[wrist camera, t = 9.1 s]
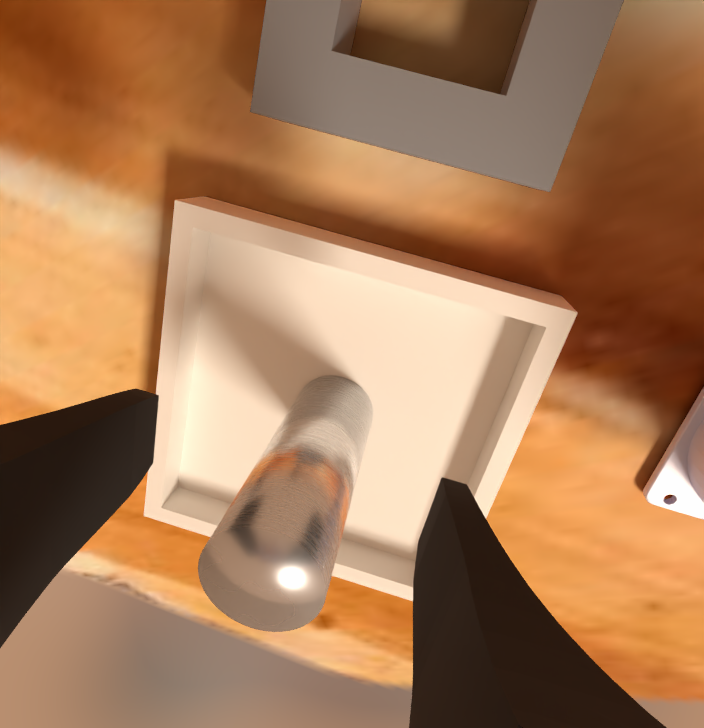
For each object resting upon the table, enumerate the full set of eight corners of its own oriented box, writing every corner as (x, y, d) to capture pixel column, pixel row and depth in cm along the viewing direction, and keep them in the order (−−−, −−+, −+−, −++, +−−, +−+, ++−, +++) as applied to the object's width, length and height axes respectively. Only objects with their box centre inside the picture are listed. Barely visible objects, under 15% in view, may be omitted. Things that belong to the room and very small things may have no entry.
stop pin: (382, 388, 22) (339, 553, 12) (362, 454, 23) (310, 647, 14) (305, 365, 22) (207, 511, 13) (289, 432, 23) (190, 607, 14)
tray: (561, 295, 20) (578, 312, 18) (443, 571, 26) (444, 611, 23) (204, 196, 21) (174, 199, 18) (169, 485, 26) (143, 515, 24)
